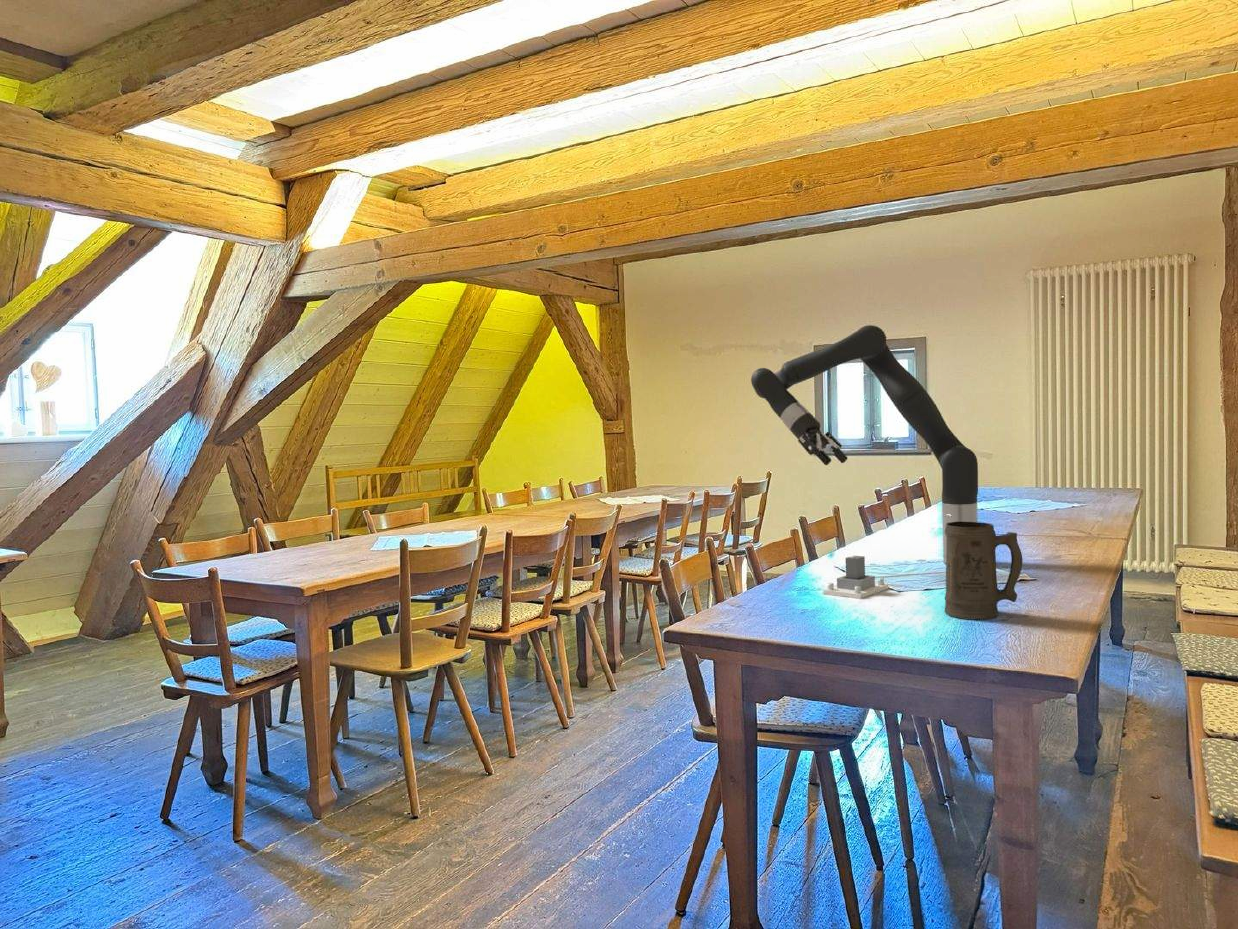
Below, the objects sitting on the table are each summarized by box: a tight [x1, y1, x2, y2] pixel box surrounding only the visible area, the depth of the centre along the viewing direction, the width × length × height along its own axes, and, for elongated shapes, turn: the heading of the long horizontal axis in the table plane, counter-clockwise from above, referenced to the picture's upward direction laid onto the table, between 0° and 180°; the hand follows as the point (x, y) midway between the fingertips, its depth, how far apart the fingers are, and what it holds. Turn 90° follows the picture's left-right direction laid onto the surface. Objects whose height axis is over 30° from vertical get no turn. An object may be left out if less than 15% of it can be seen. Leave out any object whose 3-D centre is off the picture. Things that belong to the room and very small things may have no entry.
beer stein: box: [944, 521, 1023, 620], centre depth 180 cm, size 15×11×20 cm
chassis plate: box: [822, 574, 890, 600], centre depth 208 cm, size 14×10×4 cm
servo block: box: [845, 554, 866, 580], centre depth 208 cm, size 4×3×8 cm
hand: (837, 461), depth 232 cm, fingers open, 8 cm apart
